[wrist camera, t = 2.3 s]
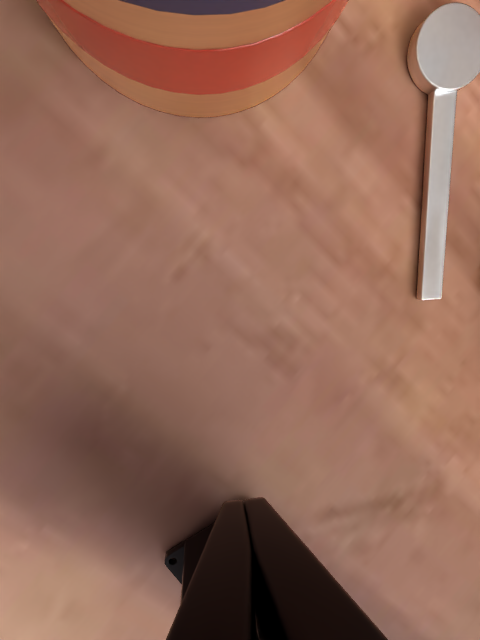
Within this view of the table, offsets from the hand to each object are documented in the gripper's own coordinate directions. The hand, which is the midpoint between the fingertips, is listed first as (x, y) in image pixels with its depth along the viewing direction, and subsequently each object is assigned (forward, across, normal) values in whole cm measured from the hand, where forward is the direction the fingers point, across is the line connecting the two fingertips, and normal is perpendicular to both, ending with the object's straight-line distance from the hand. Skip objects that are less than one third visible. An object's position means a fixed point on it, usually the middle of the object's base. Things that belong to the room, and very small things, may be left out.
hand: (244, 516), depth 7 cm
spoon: (+12, -12, -9) cm, 19 cm away
